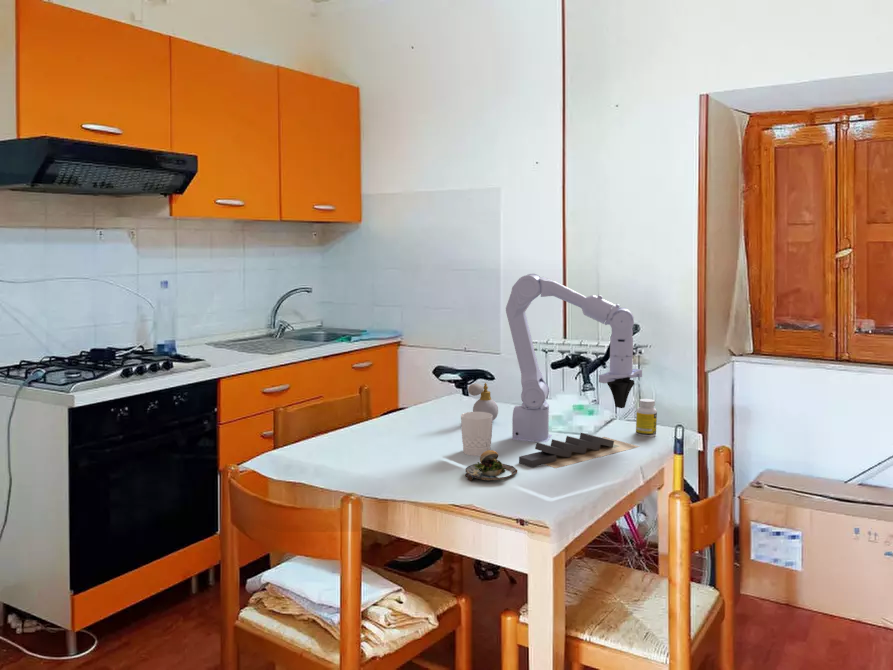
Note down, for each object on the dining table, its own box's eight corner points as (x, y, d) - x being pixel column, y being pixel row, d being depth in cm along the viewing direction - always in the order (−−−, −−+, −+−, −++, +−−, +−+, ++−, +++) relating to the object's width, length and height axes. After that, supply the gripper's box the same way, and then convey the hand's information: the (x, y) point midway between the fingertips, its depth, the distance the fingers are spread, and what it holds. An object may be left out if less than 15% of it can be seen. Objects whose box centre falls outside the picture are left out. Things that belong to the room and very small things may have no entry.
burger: (465, 485, 171) (465, 452, 170) (464, 469, 183) (464, 438, 182) (519, 485, 171) (519, 452, 170) (515, 469, 183) (515, 438, 182)
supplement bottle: (656, 438, 208) (657, 402, 207) (636, 437, 209) (637, 401, 208) (655, 433, 214) (656, 398, 212) (635, 432, 215) (636, 397, 213)
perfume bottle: (502, 420, 229) (502, 380, 228) (489, 427, 221) (489, 386, 219) (478, 417, 233) (478, 378, 231) (465, 425, 224) (465, 384, 222)
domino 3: (585, 454, 192) (563, 449, 187) (572, 450, 195) (550, 445, 190) (586, 447, 192) (564, 443, 187) (573, 444, 195) (552, 439, 190)
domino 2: (570, 457, 189) (547, 452, 184) (557, 453, 192) (534, 448, 187) (571, 451, 189) (549, 446, 184) (558, 447, 192) (536, 442, 187)
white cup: (496, 451, 197) (496, 412, 196) (487, 459, 189) (487, 419, 188) (466, 448, 199) (466, 410, 198) (456, 457, 192) (456, 417, 191)
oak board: (555, 470, 180) (555, 467, 180) (520, 458, 190) (520, 456, 190) (640, 448, 198) (640, 446, 198) (604, 439, 208) (604, 436, 208)
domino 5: (612, 447, 198) (592, 442, 193) (599, 443, 201) (579, 438, 196) (614, 441, 198) (593, 436, 193) (601, 437, 201) (580, 432, 196)
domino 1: (556, 461, 186) (531, 467, 181) (543, 457, 189) (519, 463, 184) (556, 454, 186) (531, 460, 181) (543, 450, 189) (519, 456, 184)
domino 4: (599, 450, 195) (578, 445, 190) (586, 446, 198) (565, 442, 193) (600, 444, 195) (579, 439, 190) (587, 440, 198) (566, 435, 193)
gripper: (614, 360, 192) (613, 414, 194) (652, 354, 200) (650, 406, 202) (592, 356, 198) (591, 409, 199) (630, 351, 206) (629, 401, 208)
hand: (620, 407), depth 201 cm, fingers closed
